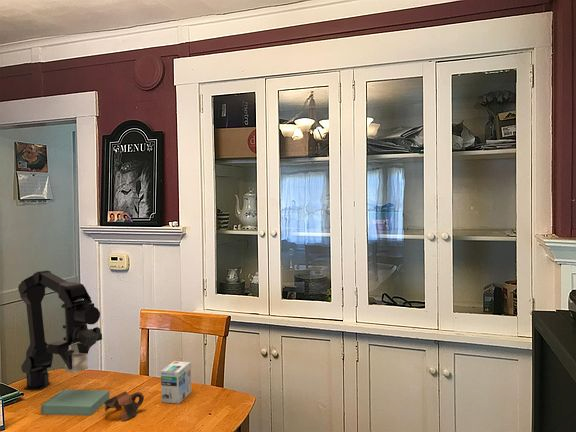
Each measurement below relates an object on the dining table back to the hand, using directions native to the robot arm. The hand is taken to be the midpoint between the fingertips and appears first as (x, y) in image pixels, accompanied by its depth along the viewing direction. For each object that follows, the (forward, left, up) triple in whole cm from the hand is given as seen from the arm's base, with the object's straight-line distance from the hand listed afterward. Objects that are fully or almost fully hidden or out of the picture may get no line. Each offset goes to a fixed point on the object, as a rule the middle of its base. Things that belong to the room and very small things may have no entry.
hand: (76, 366), depth 167 cm
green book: (+2, -5, -12) cm, 13 cm away
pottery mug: (+21, -10, -12) cm, 26 cm away
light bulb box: (+33, +4, -12) cm, 36 cm away
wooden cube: (0, 0, -1) cm, 1 cm away
